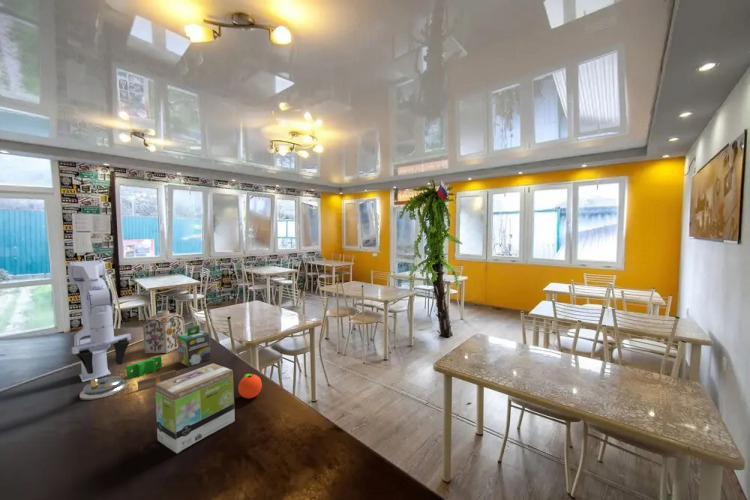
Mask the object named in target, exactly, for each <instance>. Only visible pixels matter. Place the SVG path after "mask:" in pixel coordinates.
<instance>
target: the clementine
mask: <svg viewBox="0 0 750 500" xmlns="http://www.w3.org/2000/svg"><path fill="white" fill-rule="evenodd" d="M262 388H263V383H262V380H261V377H260V376H258V375H256V374H253V373H246V374H244V375H243V378H241V380H240V381H239V383H238V387H237V389H238V390H237V391H238V393H239V395H240V396H241V397H242V398H244V399H253V398H255V397H257V396H258V395H259V393H260V392H261V390H262Z"/></svg>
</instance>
